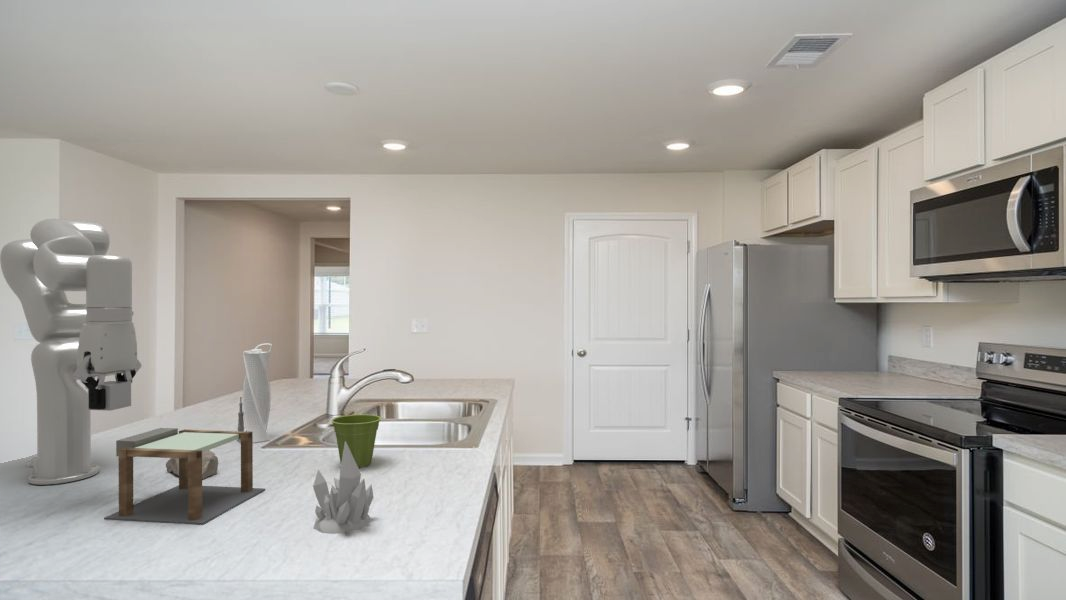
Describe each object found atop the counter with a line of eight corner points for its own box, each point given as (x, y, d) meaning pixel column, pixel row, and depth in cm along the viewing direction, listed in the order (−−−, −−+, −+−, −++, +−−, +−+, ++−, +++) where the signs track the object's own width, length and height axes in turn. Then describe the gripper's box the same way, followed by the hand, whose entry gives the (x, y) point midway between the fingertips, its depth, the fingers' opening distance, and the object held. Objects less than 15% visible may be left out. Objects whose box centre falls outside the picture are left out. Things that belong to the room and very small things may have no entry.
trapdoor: (111, 457, 110) (111, 441, 110) (164, 440, 123) (164, 426, 123) (194, 460, 108) (194, 444, 108) (238, 443, 121) (238, 429, 121)
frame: (118, 517, 108) (118, 449, 108) (184, 488, 125) (184, 429, 125) (196, 521, 106) (195, 452, 106) (252, 491, 123) (252, 431, 122)
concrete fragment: (190, 483, 128) (190, 456, 128) (162, 472, 136) (161, 447, 136) (223, 475, 134) (222, 449, 134) (193, 465, 142) (193, 440, 142)
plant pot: (384, 468, 139) (384, 421, 139) (332, 474, 134) (332, 425, 134) (378, 455, 150) (378, 412, 150) (330, 460, 145) (329, 415, 145)
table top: (104, 519, 107) (104, 517, 107) (179, 486, 126) (179, 484, 126) (203, 524, 104) (203, 523, 104) (265, 489, 123) (265, 488, 123)
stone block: (88, 409, 116) (87, 384, 116) (109, 405, 120) (109, 381, 120) (110, 410, 115) (110, 385, 115) (131, 405, 120) (131, 381, 120)
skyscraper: (267, 436, 172) (267, 342, 172) (275, 441, 166) (275, 343, 166) (236, 441, 167) (236, 343, 167) (243, 446, 160) (243, 345, 160)
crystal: (339, 506, 113) (339, 430, 113) (386, 521, 106) (386, 439, 106) (294, 523, 105) (294, 440, 105) (342, 540, 98) (341, 451, 98)
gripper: (127, 315, 126) (128, 398, 127) (53, 318, 110) (53, 414, 110) (158, 315, 125) (159, 399, 126) (88, 318, 109) (88, 415, 109)
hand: (109, 405), depth 118 cm, fingers closed on stone block, 5 cm apart
